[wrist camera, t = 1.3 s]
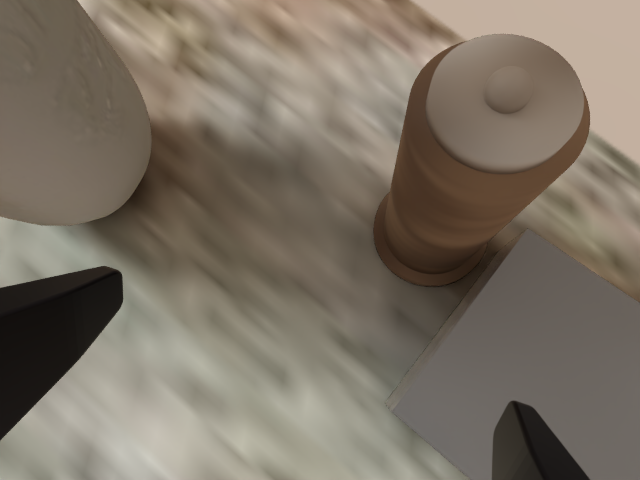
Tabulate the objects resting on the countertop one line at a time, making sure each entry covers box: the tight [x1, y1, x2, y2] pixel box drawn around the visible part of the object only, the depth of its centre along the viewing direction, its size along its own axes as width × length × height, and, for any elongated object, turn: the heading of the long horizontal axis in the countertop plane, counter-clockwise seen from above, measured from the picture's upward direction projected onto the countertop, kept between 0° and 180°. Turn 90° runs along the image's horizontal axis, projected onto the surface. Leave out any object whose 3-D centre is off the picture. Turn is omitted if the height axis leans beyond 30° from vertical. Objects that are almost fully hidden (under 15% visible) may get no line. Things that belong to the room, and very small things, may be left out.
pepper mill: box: [374, 34, 590, 287], centre depth 17 cm, size 6×6×13 cm
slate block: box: [385, 228, 640, 480], centre depth 19 cm, size 10×10×4 cm
